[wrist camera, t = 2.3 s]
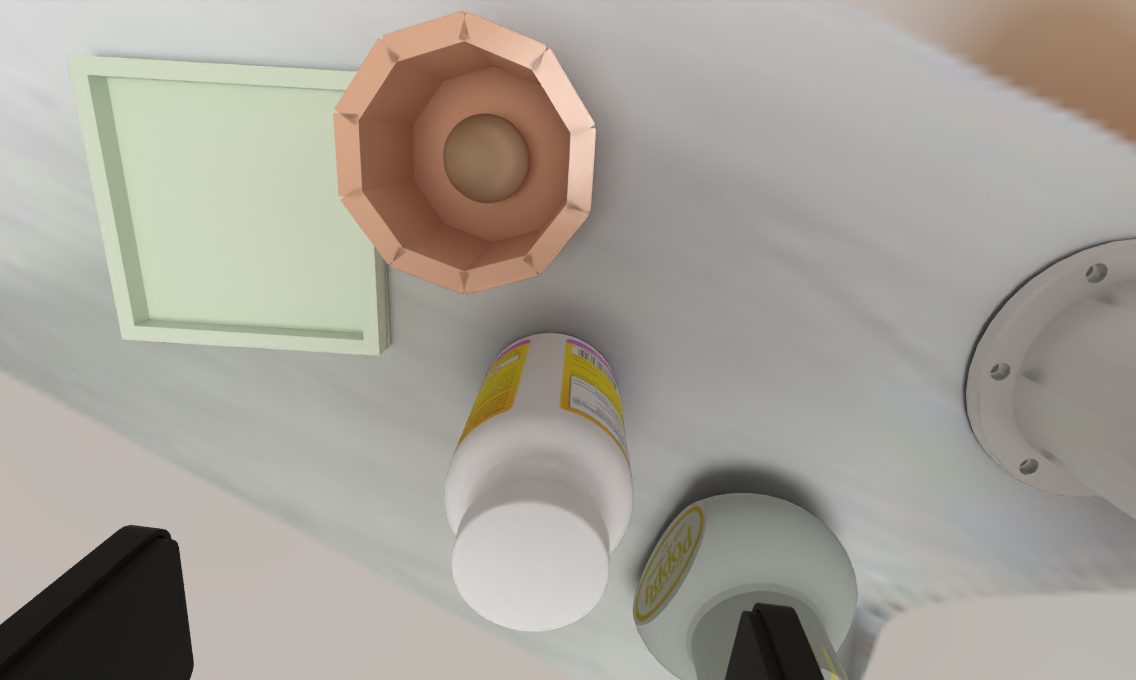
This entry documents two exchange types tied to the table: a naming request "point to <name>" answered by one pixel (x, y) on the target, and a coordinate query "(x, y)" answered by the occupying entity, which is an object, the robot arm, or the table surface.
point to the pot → (416, 142)
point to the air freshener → (742, 582)
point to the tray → (227, 206)
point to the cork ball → (486, 158)
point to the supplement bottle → (539, 485)
